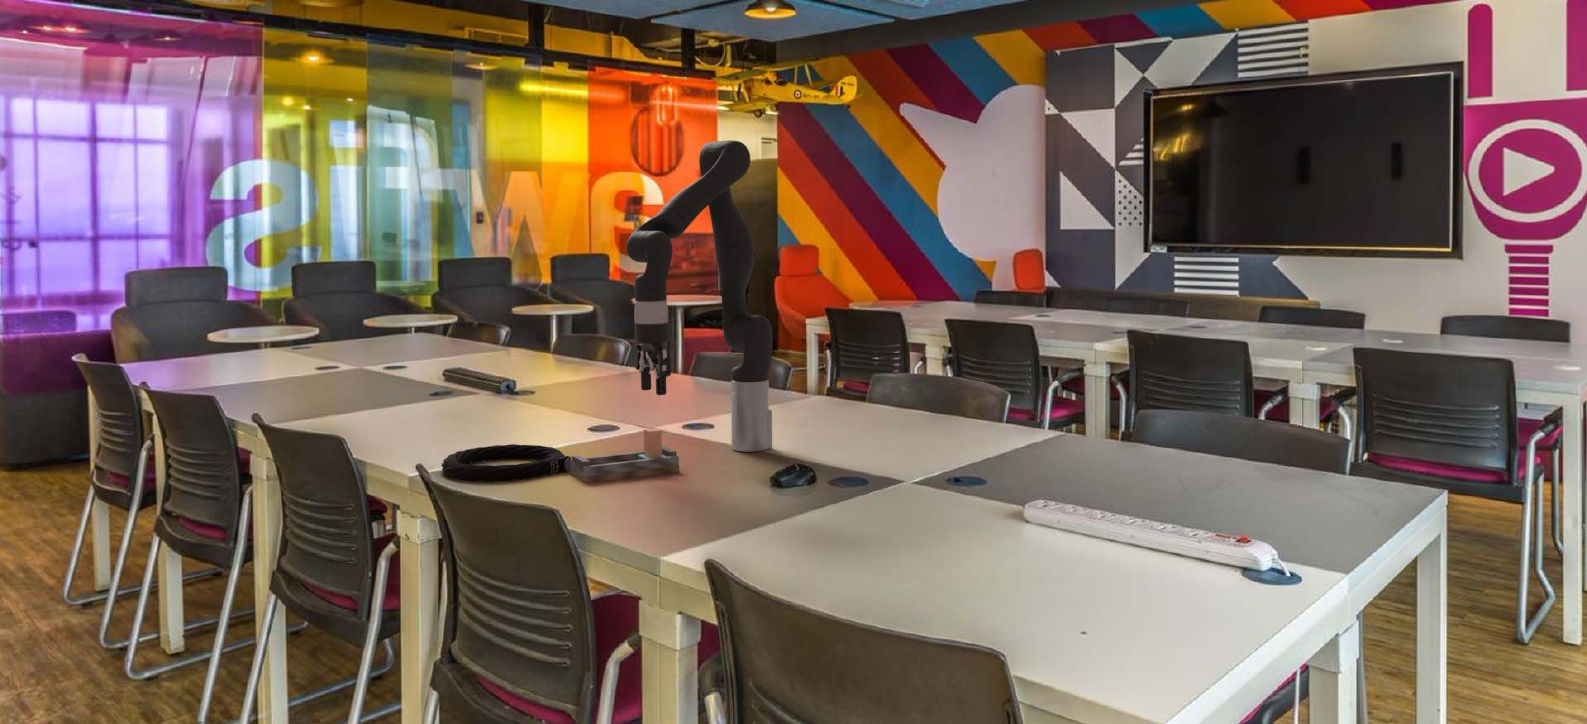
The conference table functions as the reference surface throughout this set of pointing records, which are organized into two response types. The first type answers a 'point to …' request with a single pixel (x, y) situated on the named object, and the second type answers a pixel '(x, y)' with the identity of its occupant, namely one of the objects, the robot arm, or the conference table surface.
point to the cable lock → (548, 464)
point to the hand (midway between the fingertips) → (653, 392)
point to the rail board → (622, 466)
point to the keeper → (652, 444)
